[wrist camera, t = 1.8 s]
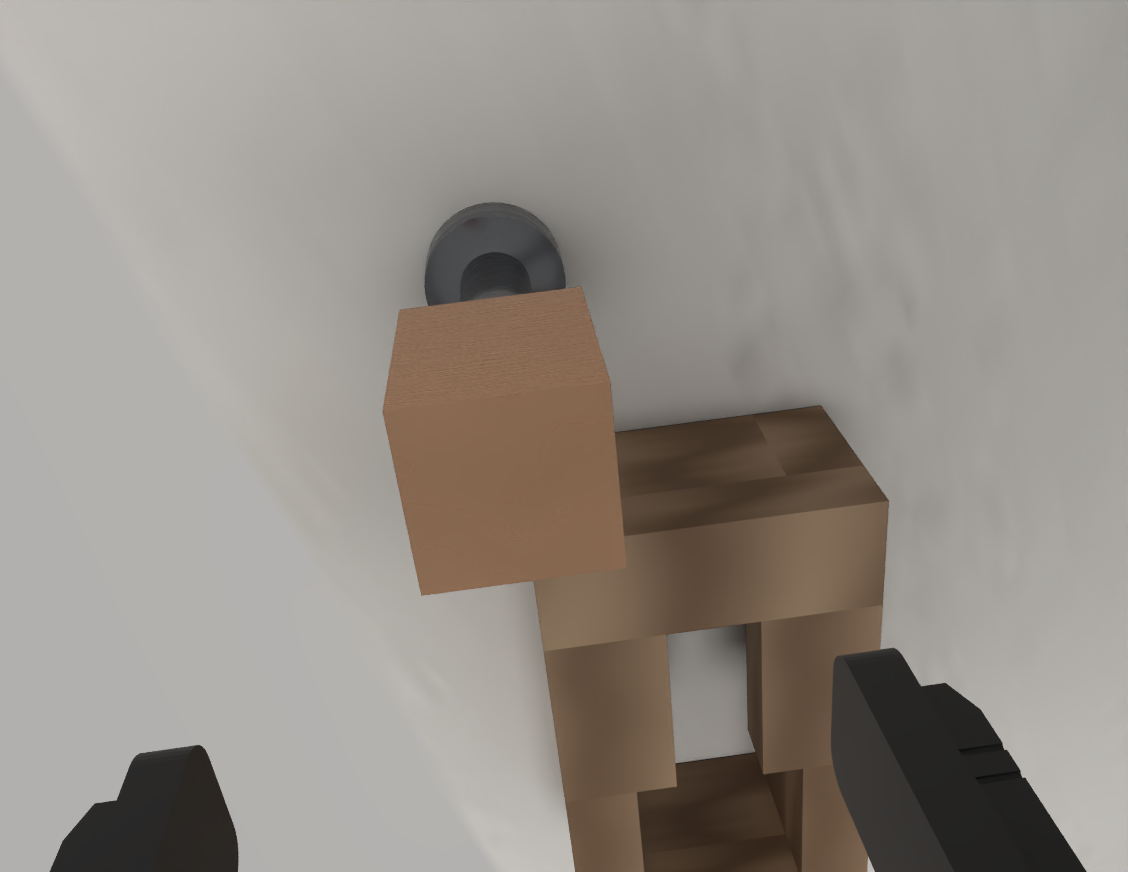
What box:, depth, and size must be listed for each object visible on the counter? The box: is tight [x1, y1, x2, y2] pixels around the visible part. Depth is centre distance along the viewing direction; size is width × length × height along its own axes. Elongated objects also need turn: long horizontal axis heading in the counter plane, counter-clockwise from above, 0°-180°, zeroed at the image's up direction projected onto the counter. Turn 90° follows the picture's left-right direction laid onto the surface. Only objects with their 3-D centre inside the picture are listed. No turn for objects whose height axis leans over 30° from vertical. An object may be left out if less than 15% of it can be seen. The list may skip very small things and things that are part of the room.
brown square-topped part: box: [383, 203, 627, 596], centre depth 24 cm, size 4×4×13 cm
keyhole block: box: [534, 406, 889, 872], centre depth 34 cm, size 10×16×6 cm, turn 6°
